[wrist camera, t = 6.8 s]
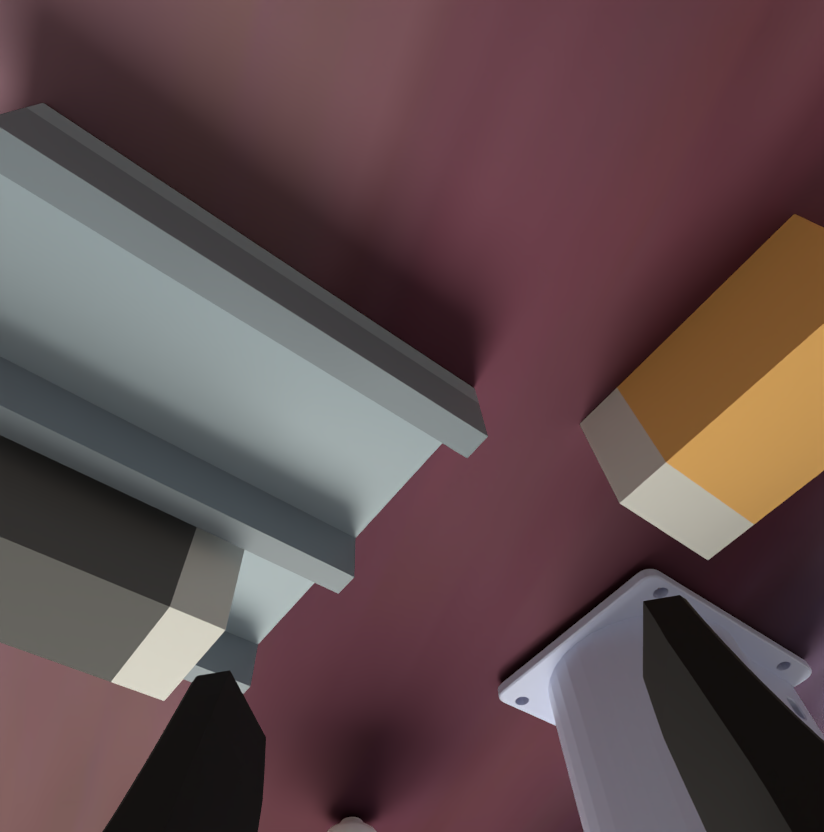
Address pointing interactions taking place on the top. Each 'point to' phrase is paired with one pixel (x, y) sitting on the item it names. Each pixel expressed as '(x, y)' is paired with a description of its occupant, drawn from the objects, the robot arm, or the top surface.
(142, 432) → the slot board
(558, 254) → the top surface
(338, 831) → the lightbulb
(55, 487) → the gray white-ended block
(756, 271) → the tall orange block
